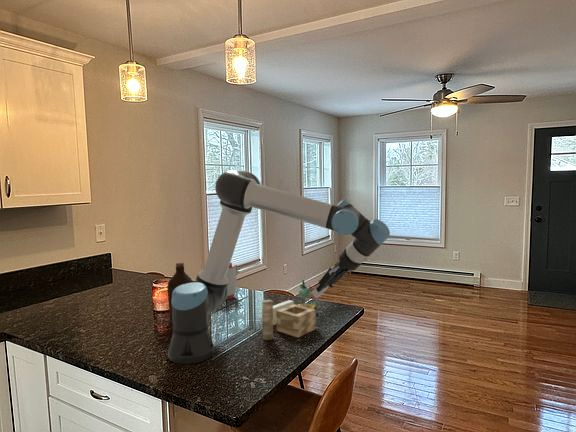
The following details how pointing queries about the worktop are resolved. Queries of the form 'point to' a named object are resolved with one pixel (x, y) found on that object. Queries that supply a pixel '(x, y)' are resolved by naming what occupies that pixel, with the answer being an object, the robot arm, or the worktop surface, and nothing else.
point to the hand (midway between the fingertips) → (315, 294)
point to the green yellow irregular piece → (305, 295)
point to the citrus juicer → (231, 280)
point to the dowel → (267, 319)
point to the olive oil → (177, 284)
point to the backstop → (280, 306)
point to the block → (296, 320)
